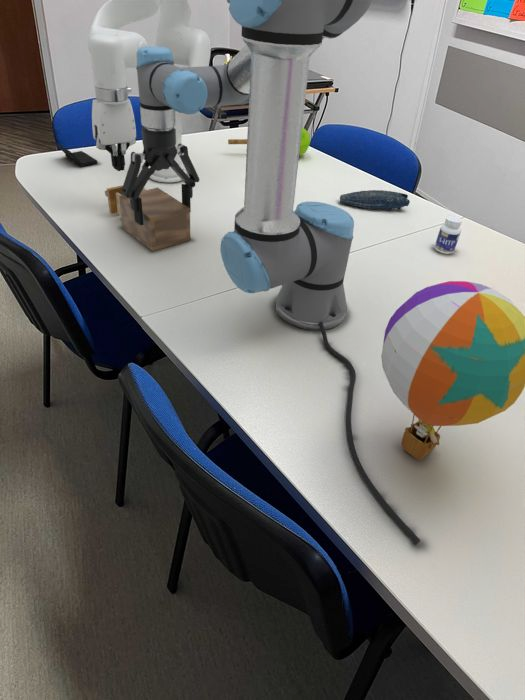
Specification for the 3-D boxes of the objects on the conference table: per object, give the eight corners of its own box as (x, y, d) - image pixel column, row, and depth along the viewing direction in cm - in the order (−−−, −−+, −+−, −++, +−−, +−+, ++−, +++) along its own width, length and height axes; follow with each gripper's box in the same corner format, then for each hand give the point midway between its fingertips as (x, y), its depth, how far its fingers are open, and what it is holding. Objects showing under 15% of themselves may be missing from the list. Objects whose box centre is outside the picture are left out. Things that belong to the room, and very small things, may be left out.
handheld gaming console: (102, 156, 171) (80, 134, 163) (90, 174, 170) (68, 153, 161) (81, 152, 177) (60, 131, 169) (70, 169, 176) (48, 148, 168)
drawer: (100, 205, 144) (97, 181, 140) (132, 198, 149) (130, 175, 145) (134, 232, 133) (132, 207, 129) (168, 223, 138) (167, 199, 134)
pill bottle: (433, 251, 139) (442, 220, 133) (435, 243, 143) (444, 213, 137) (453, 256, 138) (464, 225, 132) (454, 247, 142) (465, 217, 136)
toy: (330, 441, 84) (367, 281, 65) (404, 391, 94) (454, 241, 75) (431, 526, 73) (512, 363, 54) (502, 459, 83) (589, 303, 64)
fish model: (408, 214, 157) (412, 198, 153) (339, 207, 158) (341, 191, 154) (406, 206, 162) (410, 190, 159) (339, 199, 163) (341, 183, 160)
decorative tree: (225, 119, 187) (305, 119, 192) (225, 149, 194) (302, 148, 199) (232, 134, 173) (318, 133, 179) (232, 165, 180) (315, 164, 185)
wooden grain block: (122, 228, 137) (119, 195, 131) (159, 218, 143) (157, 187, 137) (152, 251, 128) (150, 218, 122) (190, 240, 134) (189, 208, 128)
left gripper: (131, 87, 132) (136, 160, 144) (75, 93, 124) (85, 169, 136) (146, 94, 128) (151, 168, 139) (89, 101, 120) (99, 179, 131)
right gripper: (195, 116, 125) (196, 201, 138) (98, 129, 111) (110, 222, 124) (213, 124, 120) (213, 211, 133) (115, 139, 107) (125, 234, 120)
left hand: (118, 169), depth 137 cm, fingers closed
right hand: (163, 216), depth 129 cm, fingers open, 13 cm apart
